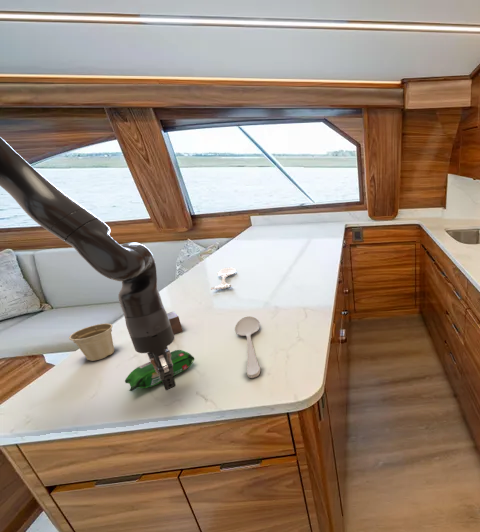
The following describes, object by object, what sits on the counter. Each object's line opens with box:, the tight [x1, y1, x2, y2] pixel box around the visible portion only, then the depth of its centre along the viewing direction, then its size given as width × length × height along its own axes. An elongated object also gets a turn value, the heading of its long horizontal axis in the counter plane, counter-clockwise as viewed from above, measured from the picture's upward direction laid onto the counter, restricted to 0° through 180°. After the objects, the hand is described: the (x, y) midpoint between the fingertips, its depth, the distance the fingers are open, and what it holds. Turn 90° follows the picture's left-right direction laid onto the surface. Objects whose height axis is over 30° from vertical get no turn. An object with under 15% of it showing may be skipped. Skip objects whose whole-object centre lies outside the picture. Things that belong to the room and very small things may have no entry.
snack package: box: [124, 349, 195, 392], centre depth 82 cm, size 7×16×5 cm, turn 149°
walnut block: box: [167, 311, 183, 335], centre depth 104 cm, size 6×6×6 cm
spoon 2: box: [210, 267, 237, 291], centre depth 150 cm, size 9×32×4 cm, turn 25°
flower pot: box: [68, 323, 115, 362], centre depth 91 cm, size 9×9×9 cm
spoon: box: [234, 316, 261, 379], centre depth 95 cm, size 35×8×3 cm, turn 29°
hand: (170, 387), depth 75 cm, fingers closed
